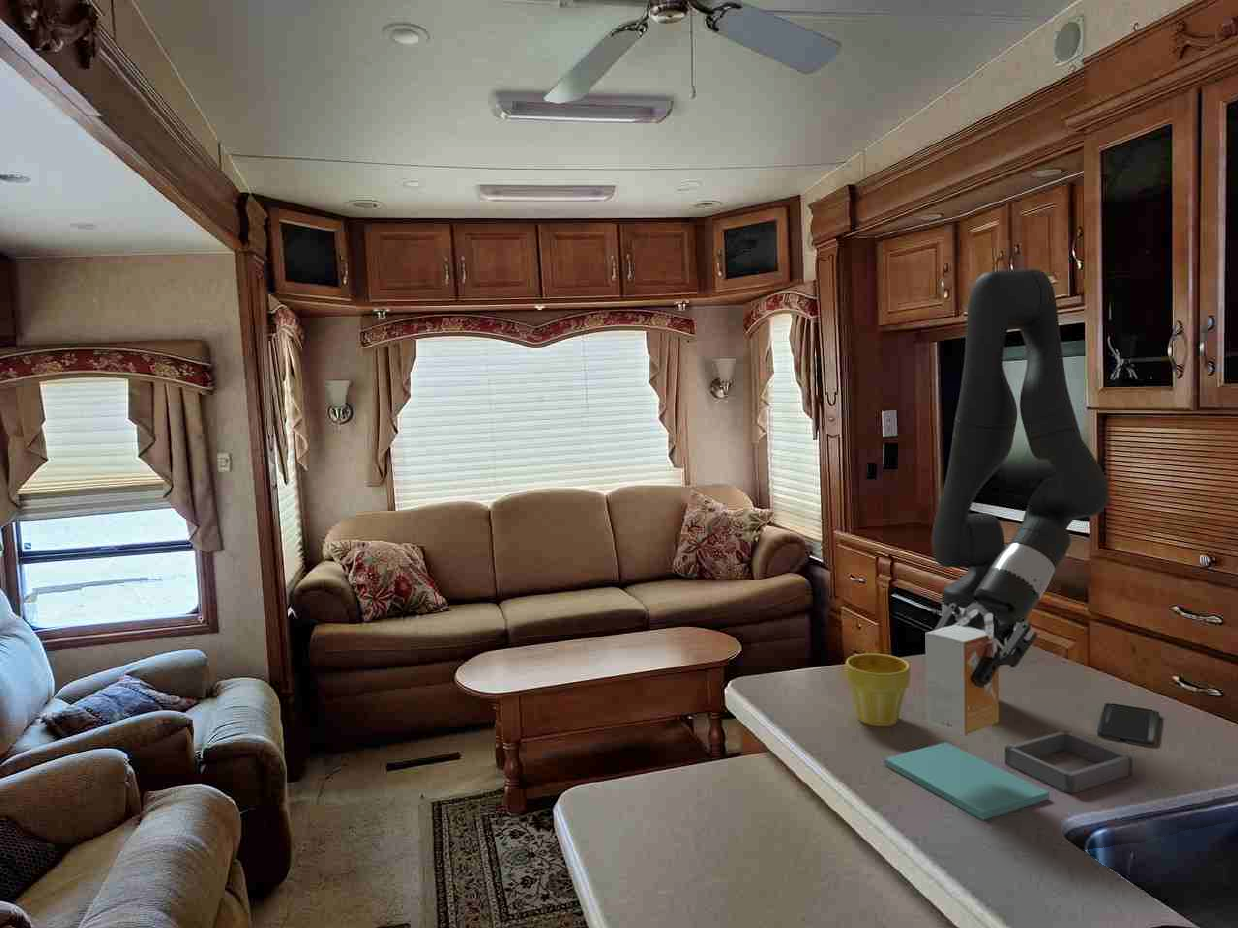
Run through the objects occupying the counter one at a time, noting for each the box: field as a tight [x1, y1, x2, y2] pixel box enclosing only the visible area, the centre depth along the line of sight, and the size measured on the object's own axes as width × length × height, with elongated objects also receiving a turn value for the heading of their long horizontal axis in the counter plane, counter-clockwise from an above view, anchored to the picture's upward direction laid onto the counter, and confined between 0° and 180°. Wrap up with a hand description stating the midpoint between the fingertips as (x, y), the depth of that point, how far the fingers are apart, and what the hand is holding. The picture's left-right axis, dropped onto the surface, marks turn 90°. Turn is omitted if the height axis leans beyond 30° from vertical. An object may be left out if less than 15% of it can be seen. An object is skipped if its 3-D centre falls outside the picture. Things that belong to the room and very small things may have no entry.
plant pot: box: [845, 653, 911, 727], centre depth 138 cm, size 10×10×10 cm
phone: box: [1096, 702, 1160, 748], centre depth 132 cm, size 8×1×15 cm
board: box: [883, 742, 1050, 821], centre depth 115 cm, size 18×12×1 cm, turn 24°
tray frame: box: [1004, 730, 1133, 795], centre depth 118 cm, size 11×13×2 cm
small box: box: [924, 625, 1000, 736], centre depth 114 cm, size 8×6×13 cm
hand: (954, 675), depth 113 cm, fingers closed on small box, 7 cm apart
